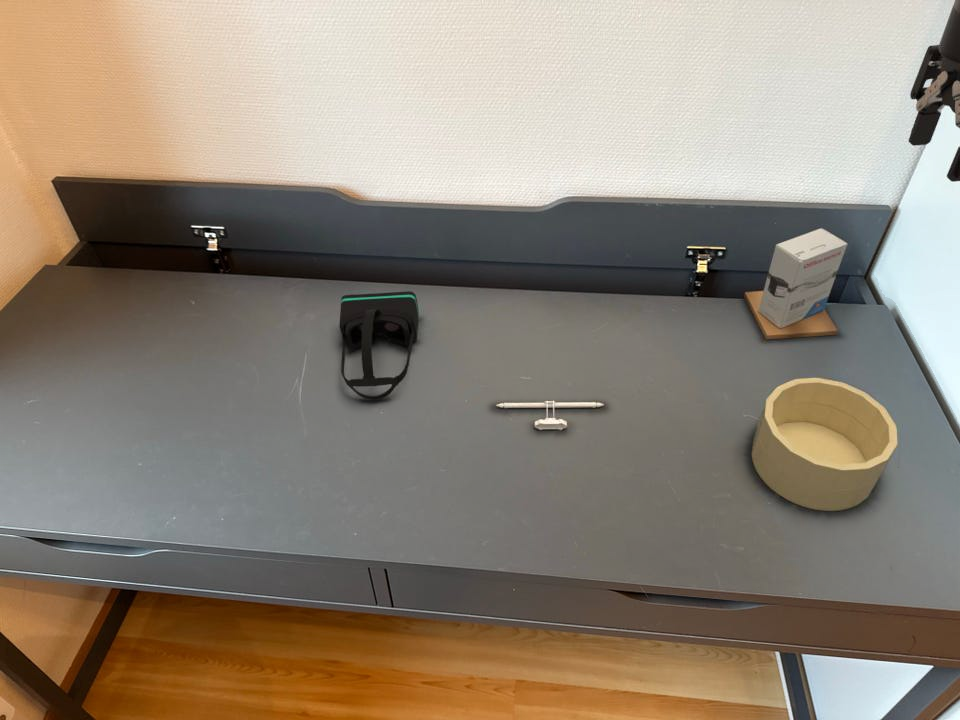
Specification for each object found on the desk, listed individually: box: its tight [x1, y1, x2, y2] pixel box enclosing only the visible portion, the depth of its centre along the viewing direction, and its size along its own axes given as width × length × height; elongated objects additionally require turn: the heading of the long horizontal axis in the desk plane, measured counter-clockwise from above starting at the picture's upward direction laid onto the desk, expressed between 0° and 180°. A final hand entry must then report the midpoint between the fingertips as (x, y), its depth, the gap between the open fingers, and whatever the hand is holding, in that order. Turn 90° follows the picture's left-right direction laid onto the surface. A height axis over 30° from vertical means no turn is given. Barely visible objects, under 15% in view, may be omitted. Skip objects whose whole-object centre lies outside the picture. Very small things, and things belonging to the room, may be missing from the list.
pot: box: [751, 377, 899, 512], centre depth 81 cm, size 14×14×8 cm
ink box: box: [758, 227, 848, 328], centre depth 99 cm, size 8×5×12 cm, turn 116°
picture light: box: [495, 399, 604, 431], centre depth 90 cm, size 14×4×2 cm, turn 88°
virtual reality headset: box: [339, 290, 420, 401], centre depth 97 cm, size 11×17×10 cm, turn 2°
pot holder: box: [743, 290, 839, 340], centre depth 103 cm, size 10×10×1 cm
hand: (936, 160), depth 78 cm, fingers open, 8 cm apart
